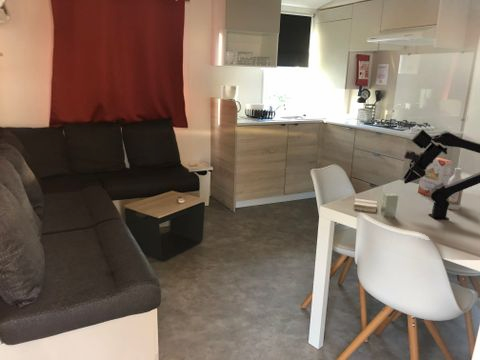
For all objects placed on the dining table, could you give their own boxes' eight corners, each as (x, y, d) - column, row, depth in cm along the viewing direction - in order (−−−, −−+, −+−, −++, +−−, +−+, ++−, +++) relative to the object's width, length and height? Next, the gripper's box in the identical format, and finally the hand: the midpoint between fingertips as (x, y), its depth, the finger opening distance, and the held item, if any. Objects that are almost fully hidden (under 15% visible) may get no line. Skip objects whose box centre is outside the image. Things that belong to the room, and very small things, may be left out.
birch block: (375, 213, 188) (376, 207, 187) (353, 210, 191) (354, 204, 190) (375, 207, 197) (376, 201, 196) (354, 204, 200) (355, 198, 199)
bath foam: (443, 208, 198) (450, 168, 193) (444, 204, 204) (450, 166, 199) (459, 211, 195) (466, 170, 190) (459, 207, 201) (466, 168, 196)
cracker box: (417, 192, 225) (422, 155, 220) (424, 191, 227) (430, 155, 222) (438, 199, 213) (445, 161, 207) (446, 198, 215) (453, 160, 210)
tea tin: (395, 217, 182) (398, 195, 179) (384, 216, 182) (386, 195, 180) (391, 213, 187) (394, 192, 184) (380, 213, 187) (383, 192, 184)
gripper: (414, 141, 189) (390, 165, 195) (415, 146, 172) (390, 173, 179) (433, 156, 188) (409, 180, 194) (436, 163, 171) (410, 190, 177)
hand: (404, 180), depth 186 cm, fingers open, 9 cm apart
